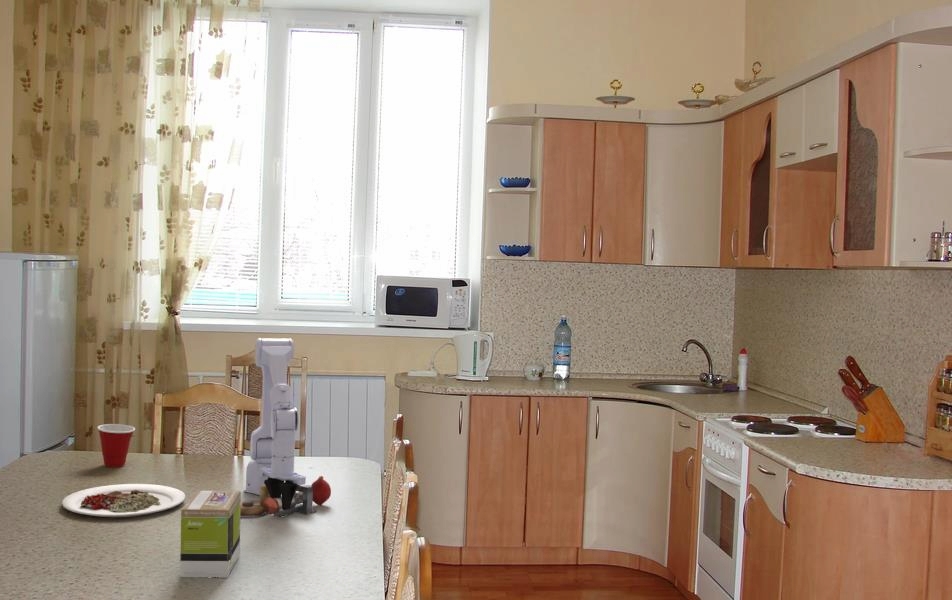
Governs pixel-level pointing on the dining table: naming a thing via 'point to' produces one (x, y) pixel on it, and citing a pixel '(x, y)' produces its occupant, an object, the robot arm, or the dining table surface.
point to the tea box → (210, 534)
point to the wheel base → (253, 515)
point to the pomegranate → (321, 491)
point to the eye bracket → (300, 508)
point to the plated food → (123, 500)
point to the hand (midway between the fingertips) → (281, 507)
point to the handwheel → (254, 503)
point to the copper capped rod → (280, 503)
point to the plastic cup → (115, 443)
